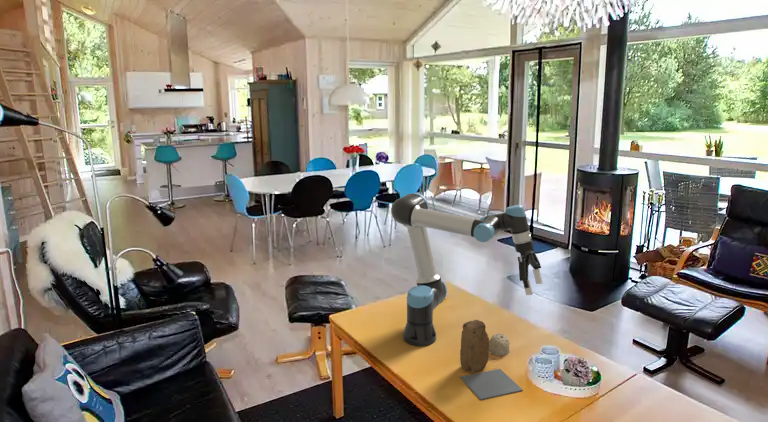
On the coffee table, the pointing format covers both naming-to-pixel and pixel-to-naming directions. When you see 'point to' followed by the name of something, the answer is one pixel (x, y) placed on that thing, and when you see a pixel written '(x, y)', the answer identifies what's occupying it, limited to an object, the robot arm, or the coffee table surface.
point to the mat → (490, 384)
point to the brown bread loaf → (474, 346)
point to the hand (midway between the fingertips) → (534, 289)
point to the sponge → (499, 344)
